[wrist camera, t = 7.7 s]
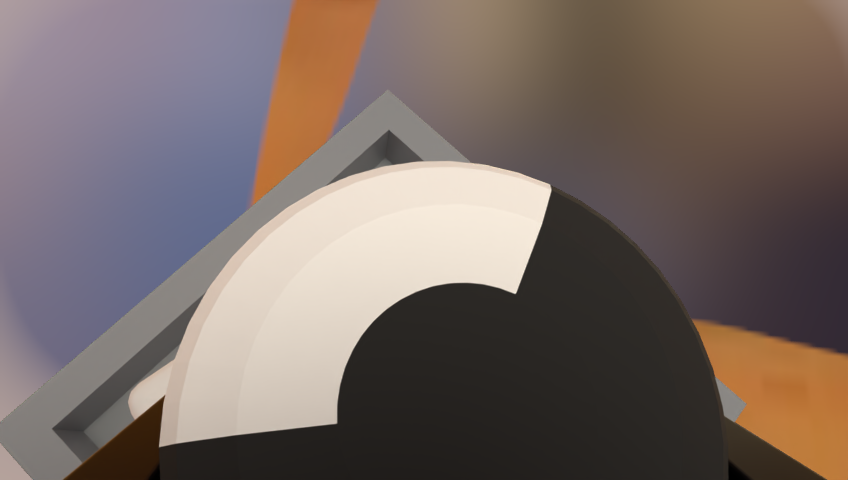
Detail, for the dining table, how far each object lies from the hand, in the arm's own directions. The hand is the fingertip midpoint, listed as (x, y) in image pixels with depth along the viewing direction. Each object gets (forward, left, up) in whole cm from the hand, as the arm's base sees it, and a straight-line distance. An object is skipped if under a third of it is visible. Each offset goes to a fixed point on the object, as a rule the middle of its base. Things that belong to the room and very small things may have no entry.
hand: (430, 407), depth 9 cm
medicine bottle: (0, 0, -9) cm, 9 cm away
